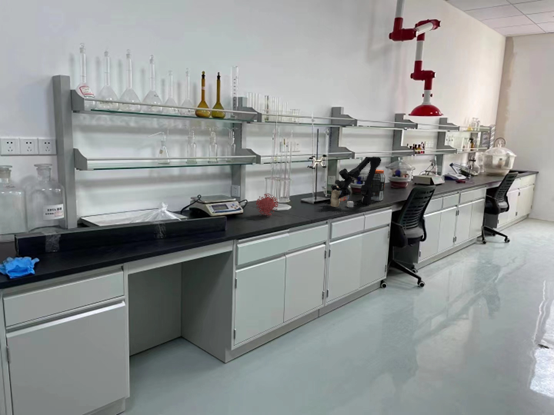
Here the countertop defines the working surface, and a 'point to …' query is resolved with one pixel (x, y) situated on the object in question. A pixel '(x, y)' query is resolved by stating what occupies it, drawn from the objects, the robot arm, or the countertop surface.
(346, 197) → the stack of blocks
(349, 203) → the grey cube
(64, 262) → the countertop surface
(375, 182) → the supplement tub
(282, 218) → the countertop surface
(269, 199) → the virus model
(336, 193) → the beech block
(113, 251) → the countertop surface
